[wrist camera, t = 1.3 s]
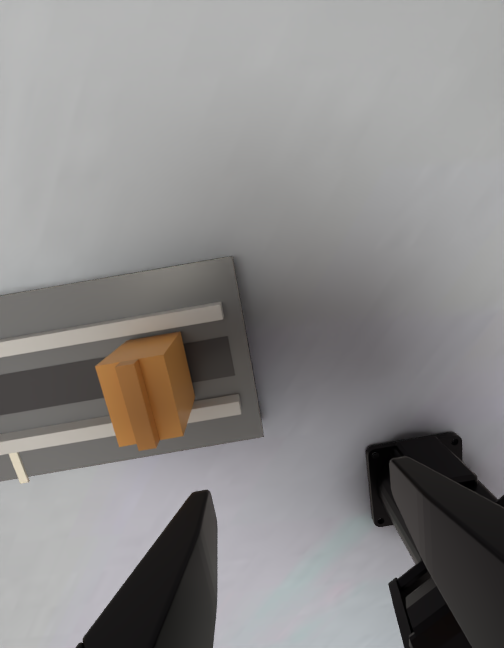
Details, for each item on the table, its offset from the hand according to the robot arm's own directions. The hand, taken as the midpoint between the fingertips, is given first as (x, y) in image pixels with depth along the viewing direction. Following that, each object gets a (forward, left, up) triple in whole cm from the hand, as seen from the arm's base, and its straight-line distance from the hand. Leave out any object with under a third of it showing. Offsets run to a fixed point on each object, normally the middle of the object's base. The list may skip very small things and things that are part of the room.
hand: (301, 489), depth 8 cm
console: (0, +12, -13) cm, 18 cm away
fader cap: (0, +6, -11) cm, 12 cm away
